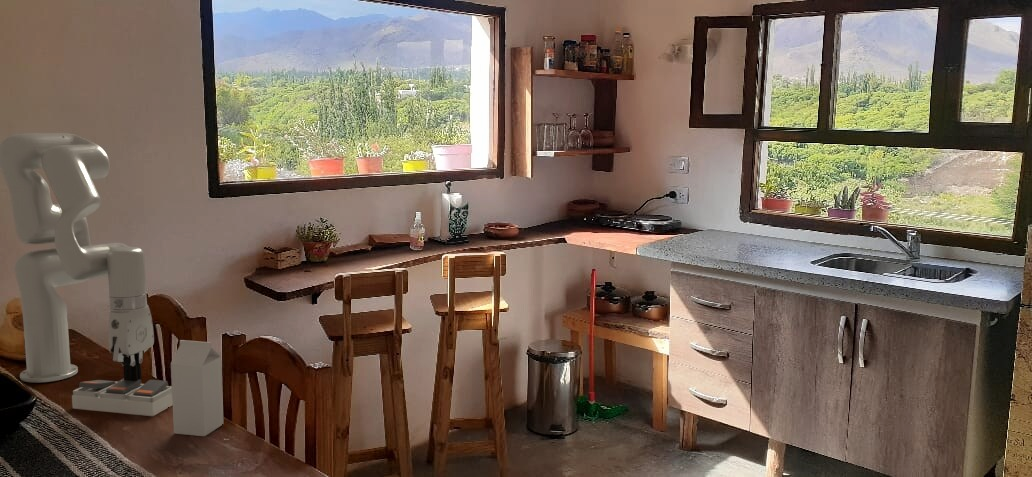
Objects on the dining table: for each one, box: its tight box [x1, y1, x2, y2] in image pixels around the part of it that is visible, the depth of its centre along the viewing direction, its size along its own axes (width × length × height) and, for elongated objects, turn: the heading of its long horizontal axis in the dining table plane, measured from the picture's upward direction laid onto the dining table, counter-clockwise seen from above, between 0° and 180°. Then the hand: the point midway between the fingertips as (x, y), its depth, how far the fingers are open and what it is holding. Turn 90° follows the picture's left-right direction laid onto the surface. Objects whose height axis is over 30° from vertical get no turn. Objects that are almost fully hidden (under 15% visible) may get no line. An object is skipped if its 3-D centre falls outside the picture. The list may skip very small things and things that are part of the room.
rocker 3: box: [133, 379, 169, 397], centre depth 183 cm, size 4×6×1 cm
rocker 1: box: [78, 379, 116, 389], centre depth 186 cm, size 4×6×1 cm
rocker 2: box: [106, 377, 142, 394], centre depth 184 cm, size 4×6×1 cm
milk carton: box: [170, 339, 224, 437], centre depth 170 cm, size 7×7×19 cm
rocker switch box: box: [71, 380, 173, 417], centre depth 185 cm, size 20×8×4 cm, turn 79°
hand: (132, 381), depth 187 cm, fingers closed
